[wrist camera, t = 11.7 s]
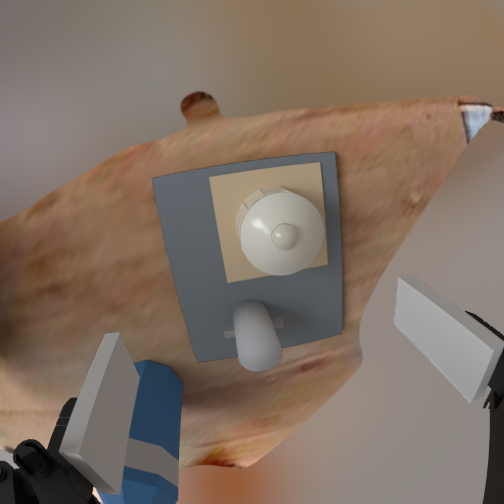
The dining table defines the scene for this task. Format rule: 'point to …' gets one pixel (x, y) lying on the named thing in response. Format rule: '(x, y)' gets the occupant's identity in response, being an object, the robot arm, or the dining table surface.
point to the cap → (279, 230)
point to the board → (239, 267)
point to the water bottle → (152, 439)
